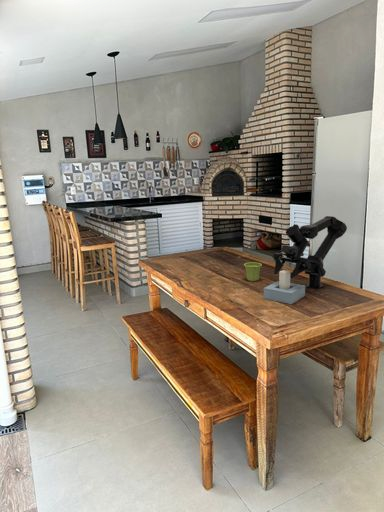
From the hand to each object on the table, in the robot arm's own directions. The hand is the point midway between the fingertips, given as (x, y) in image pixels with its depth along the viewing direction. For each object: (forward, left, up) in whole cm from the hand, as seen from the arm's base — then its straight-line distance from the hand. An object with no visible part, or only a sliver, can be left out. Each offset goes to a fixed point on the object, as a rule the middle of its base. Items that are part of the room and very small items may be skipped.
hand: (282, 275), depth 178 cm
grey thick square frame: (-1, 0, -11) cm, 11 cm away
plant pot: (-18, -27, -11) cm, 34 cm away
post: (-1, 0, -11) cm, 11 cm away
